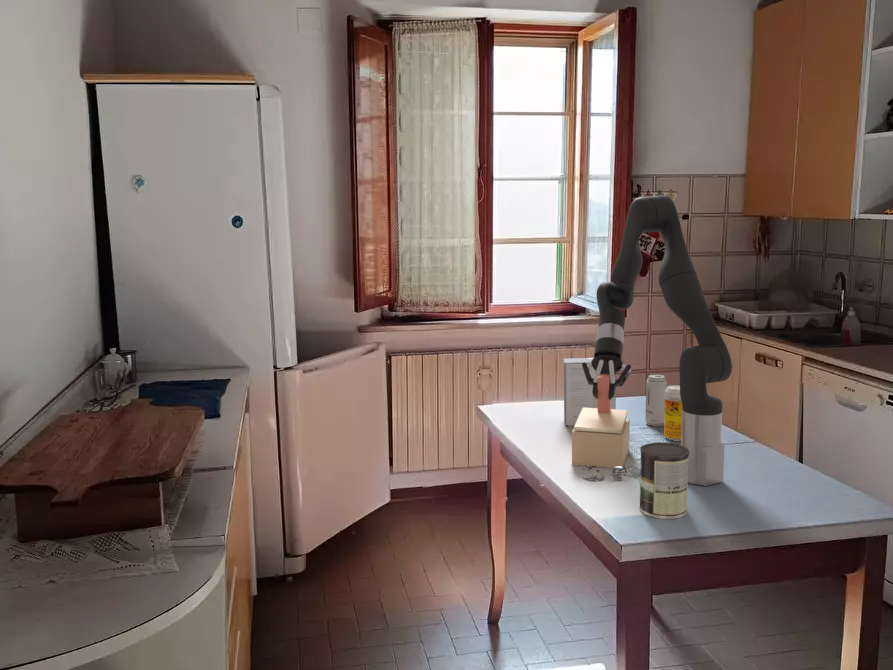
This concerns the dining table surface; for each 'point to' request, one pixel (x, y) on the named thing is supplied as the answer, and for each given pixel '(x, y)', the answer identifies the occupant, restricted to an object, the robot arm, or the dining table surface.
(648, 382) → the energy drink can
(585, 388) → the hard drive box
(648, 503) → the coffee can
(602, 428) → the flap
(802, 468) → the dining table surface
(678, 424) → the beer can
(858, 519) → the dining table surface
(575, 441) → the carton
